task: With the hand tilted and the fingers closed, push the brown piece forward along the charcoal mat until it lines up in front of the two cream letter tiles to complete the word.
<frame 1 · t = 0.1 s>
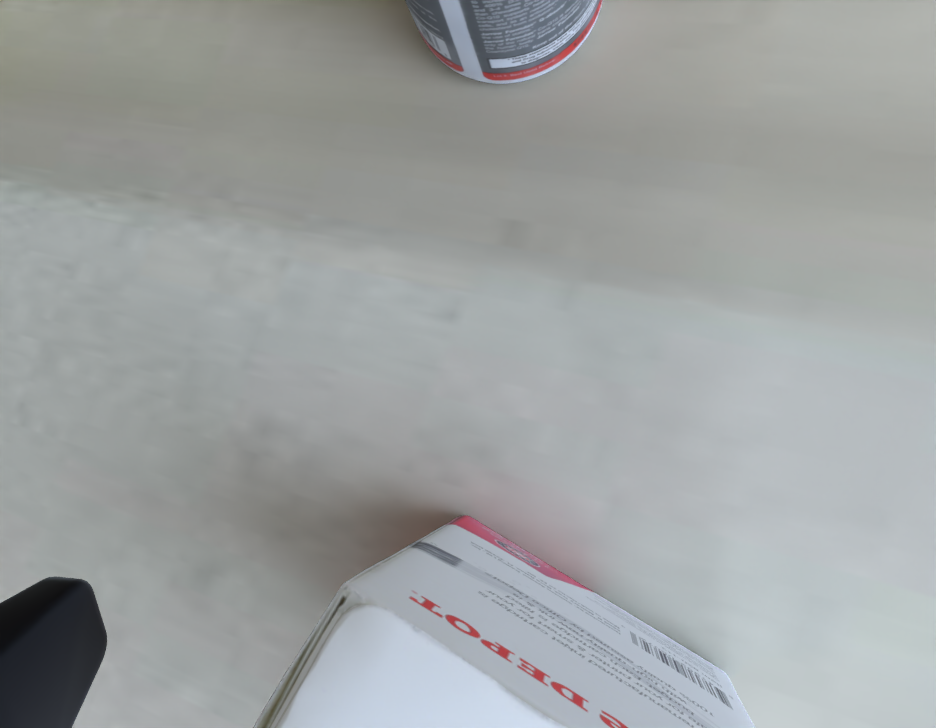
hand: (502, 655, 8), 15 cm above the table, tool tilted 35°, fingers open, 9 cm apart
pill bottle: (508, 2, 25), on the table
ink box: (551, 658, 23), on the table
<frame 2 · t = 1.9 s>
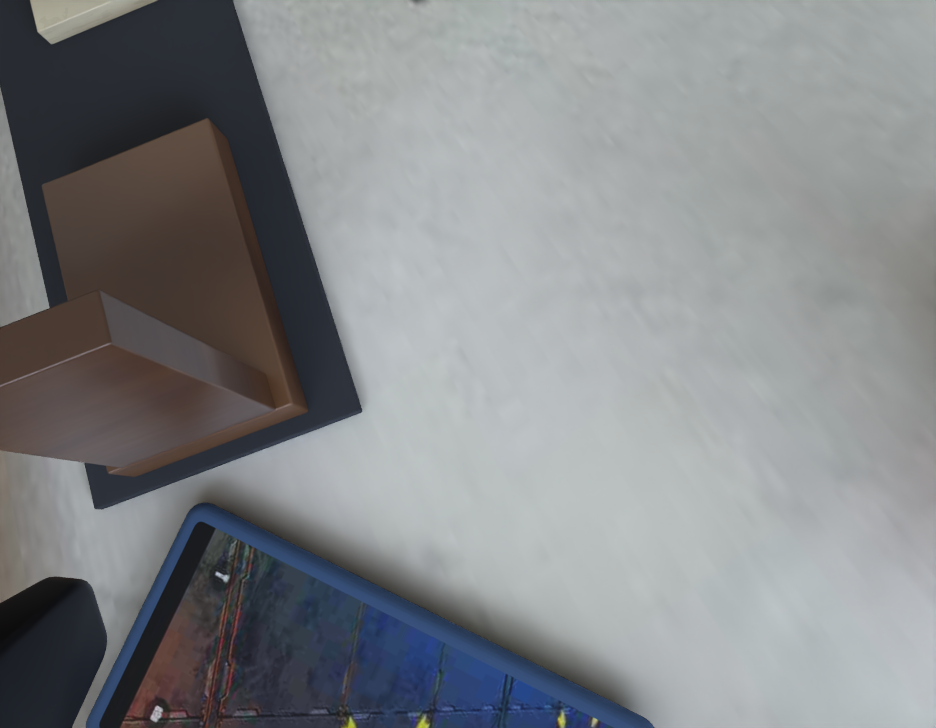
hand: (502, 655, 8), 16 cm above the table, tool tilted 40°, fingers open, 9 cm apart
word mat: (153, 175, 28), on the table
smartphone: (364, 726, 23), on the table
brown piece: (182, 301, 27), resting on word mat
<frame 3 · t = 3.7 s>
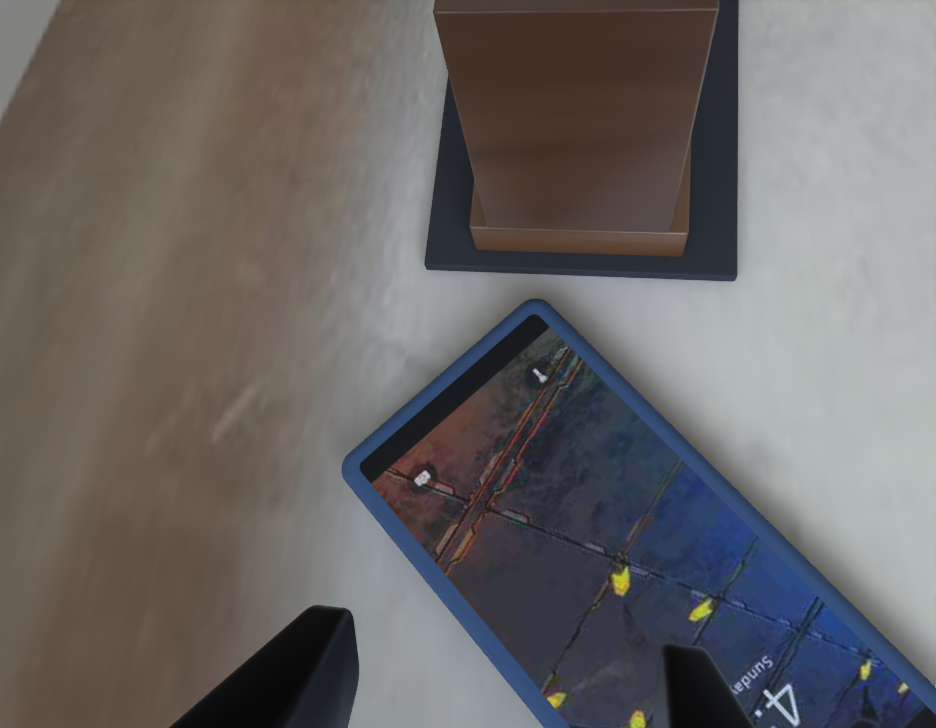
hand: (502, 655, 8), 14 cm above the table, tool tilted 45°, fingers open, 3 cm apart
smartphone: (623, 587, 21), on the table
brown piece: (586, 106, 25), resting on word mat
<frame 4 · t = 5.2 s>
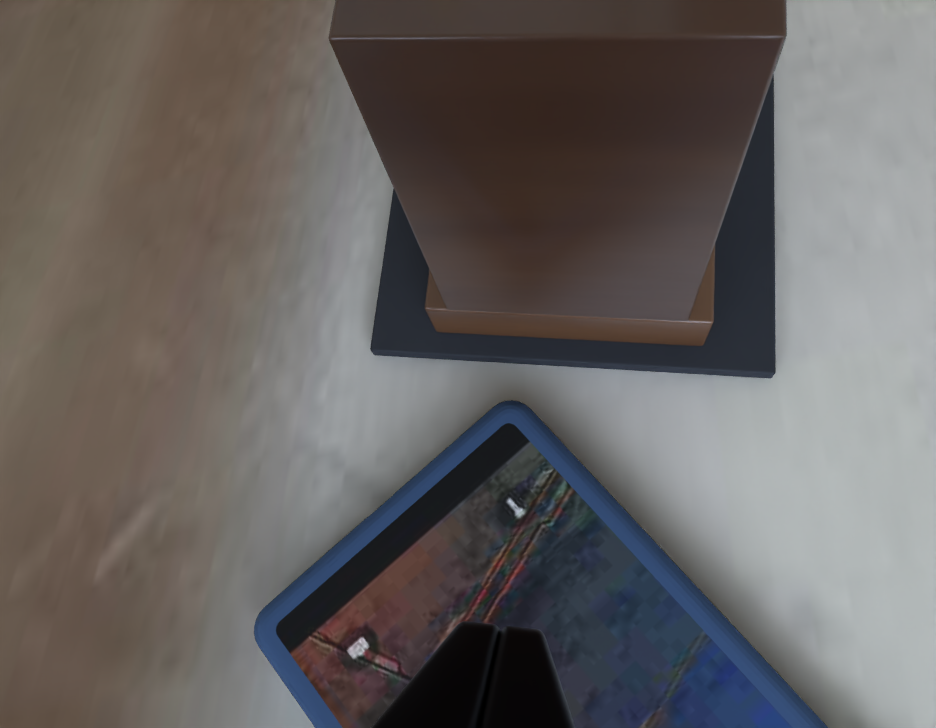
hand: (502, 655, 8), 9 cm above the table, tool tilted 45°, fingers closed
brown piece: (580, 145, 20), resting on word mat
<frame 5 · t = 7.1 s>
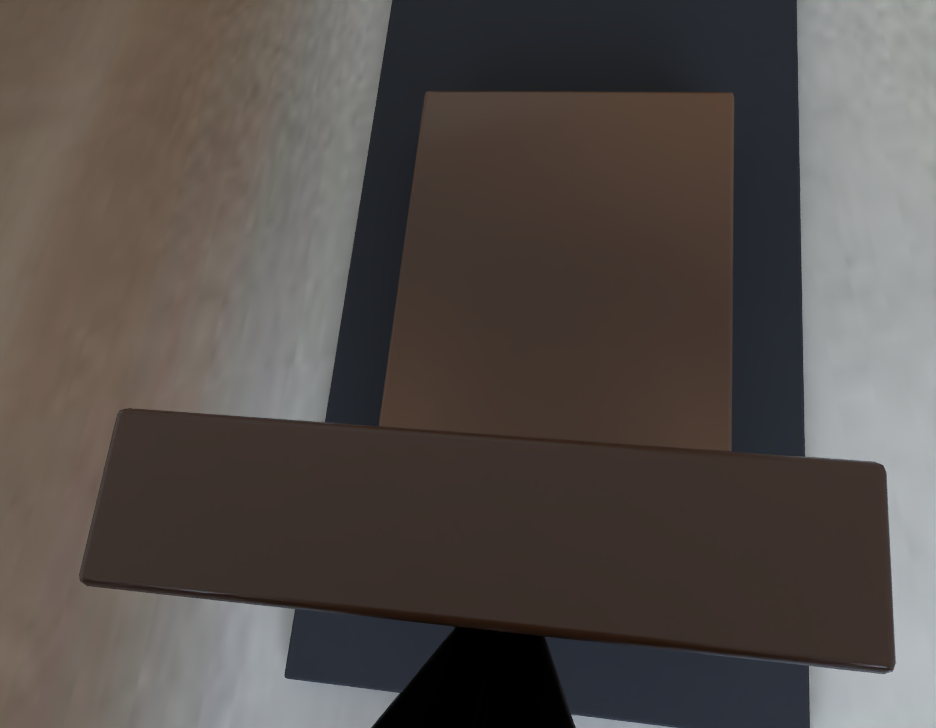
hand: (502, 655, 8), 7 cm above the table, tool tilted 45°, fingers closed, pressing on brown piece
word mat: (573, 178, 17), on the table
brown piece: (559, 357, 16), resting on word mat, touching gripper
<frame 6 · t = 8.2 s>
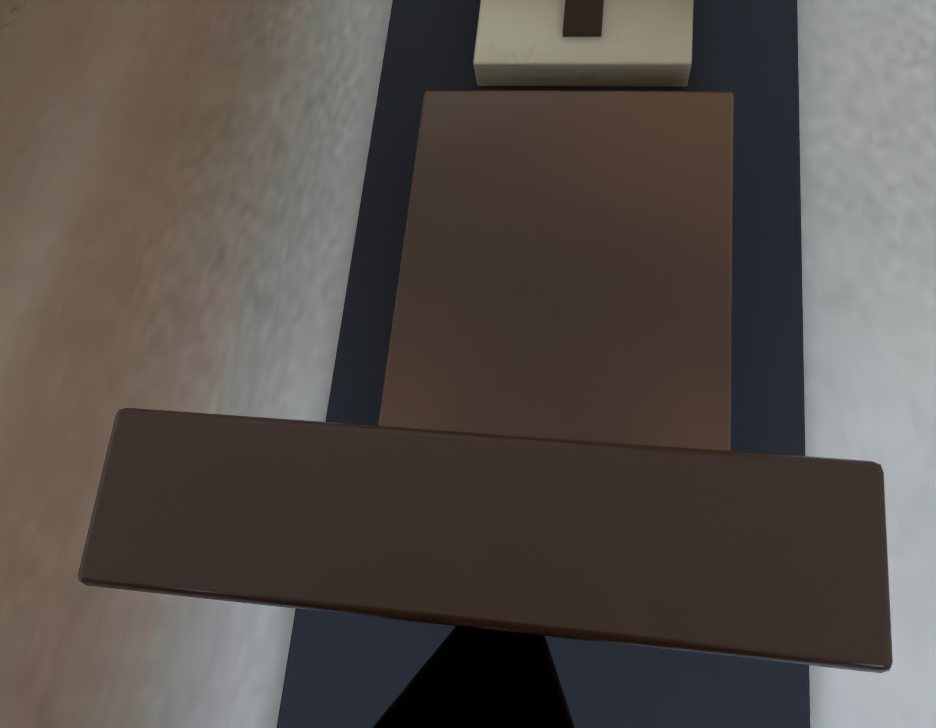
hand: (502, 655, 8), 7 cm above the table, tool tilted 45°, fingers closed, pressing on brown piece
word mat: (560, 368, 16), on the table
brown piece: (558, 357, 16), resting on word mat, touching gripper
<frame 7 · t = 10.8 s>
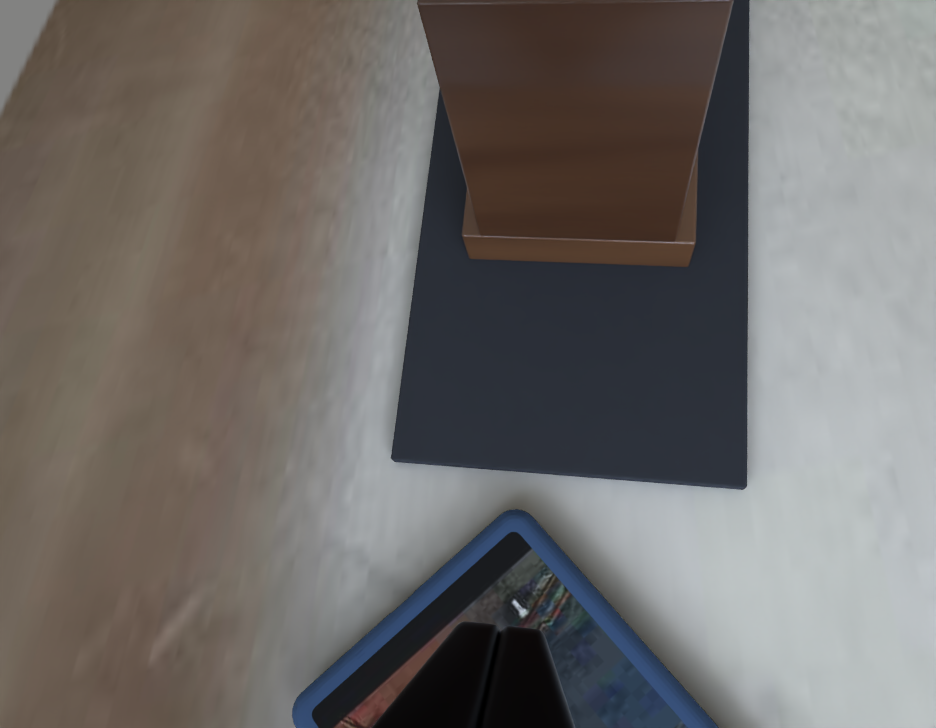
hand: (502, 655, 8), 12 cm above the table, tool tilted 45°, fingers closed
word mat: (587, 122, 24), on the table
brown piece: (587, 106, 24), resting on word mat
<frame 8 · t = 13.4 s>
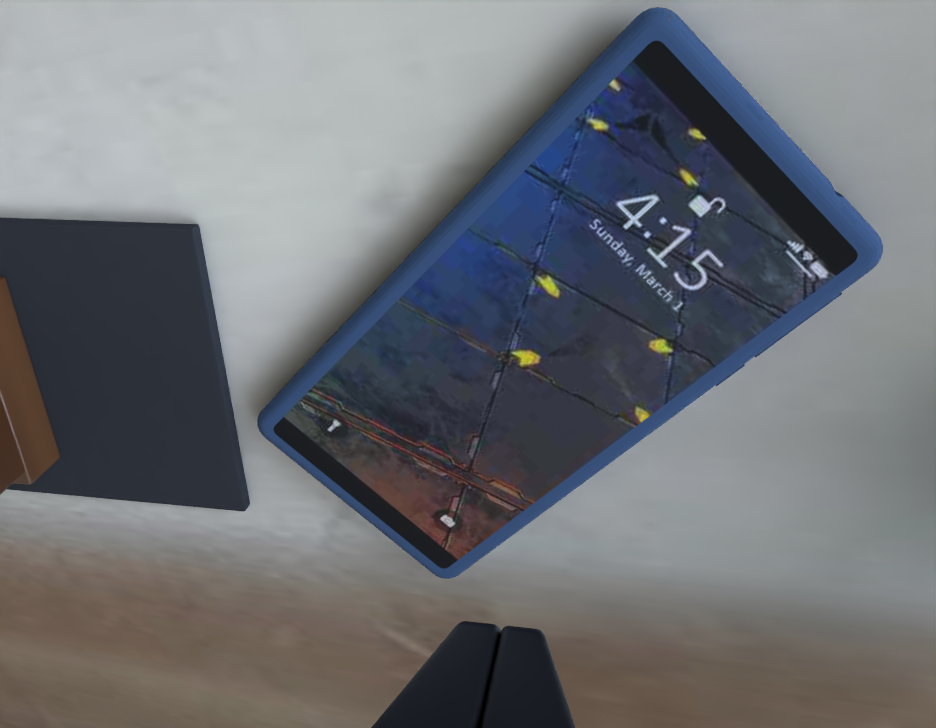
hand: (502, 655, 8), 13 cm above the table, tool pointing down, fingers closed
smartphone: (534, 336, 21), on the table
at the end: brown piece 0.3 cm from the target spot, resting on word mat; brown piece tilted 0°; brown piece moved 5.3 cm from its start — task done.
